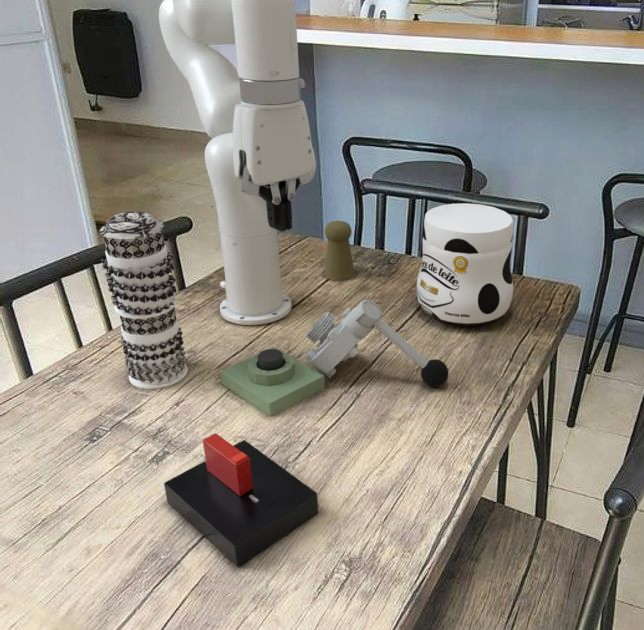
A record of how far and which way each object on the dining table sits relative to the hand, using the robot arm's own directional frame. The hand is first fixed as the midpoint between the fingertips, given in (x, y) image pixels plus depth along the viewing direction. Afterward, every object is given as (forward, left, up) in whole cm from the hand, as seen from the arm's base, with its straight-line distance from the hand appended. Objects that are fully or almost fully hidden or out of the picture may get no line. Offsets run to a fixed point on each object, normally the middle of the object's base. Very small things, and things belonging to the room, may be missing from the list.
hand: (280, 227), depth 95 cm
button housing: (+2, -5, -23) cm, 24 cm away
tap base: (+20, -23, -23) cm, 38 cm away
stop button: (+2, -5, -19) cm, 20 cm away
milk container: (+7, +34, -23) cm, 42 cm away
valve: (+11, +8, -23) cm, 27 cm away
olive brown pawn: (-21, +29, -23) cm, 43 cm away
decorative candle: (-13, -15, -23) cm, 31 cm away
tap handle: (+18, -23, -20) cm, 35 cm away
